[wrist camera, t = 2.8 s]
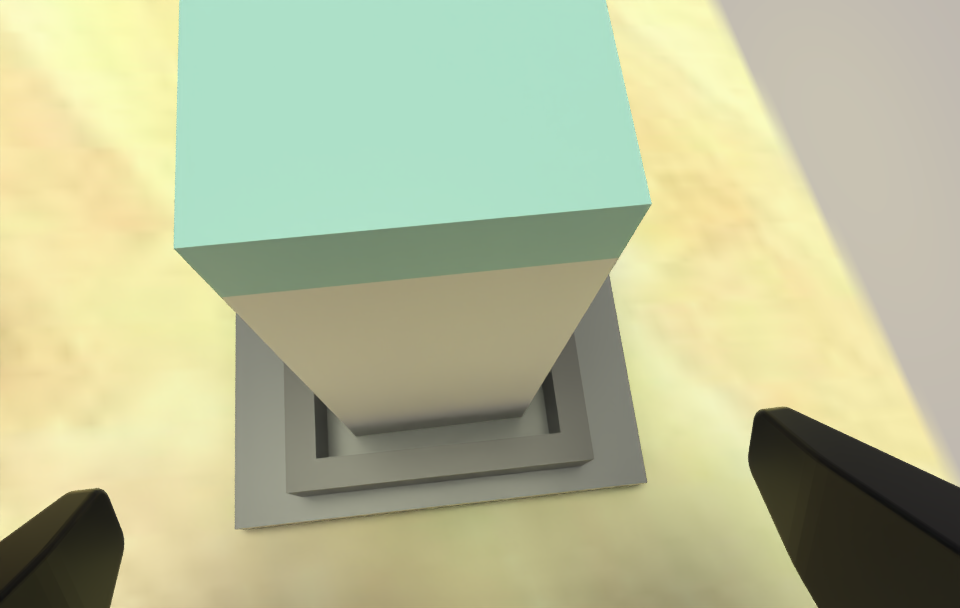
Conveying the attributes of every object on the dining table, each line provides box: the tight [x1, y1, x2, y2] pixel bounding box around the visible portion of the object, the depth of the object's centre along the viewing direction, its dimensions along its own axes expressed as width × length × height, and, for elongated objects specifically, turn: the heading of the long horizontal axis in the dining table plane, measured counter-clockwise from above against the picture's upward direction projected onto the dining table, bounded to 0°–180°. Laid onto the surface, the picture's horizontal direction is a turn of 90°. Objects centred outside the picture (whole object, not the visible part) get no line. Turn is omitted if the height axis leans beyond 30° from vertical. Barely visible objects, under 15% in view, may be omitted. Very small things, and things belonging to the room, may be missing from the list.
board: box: [235, 275, 647, 530], centre depth 22 cm, size 20×12×3 cm, turn 6°
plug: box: [174, 0, 652, 436], centre depth 14 cm, size 5×5×14 cm
